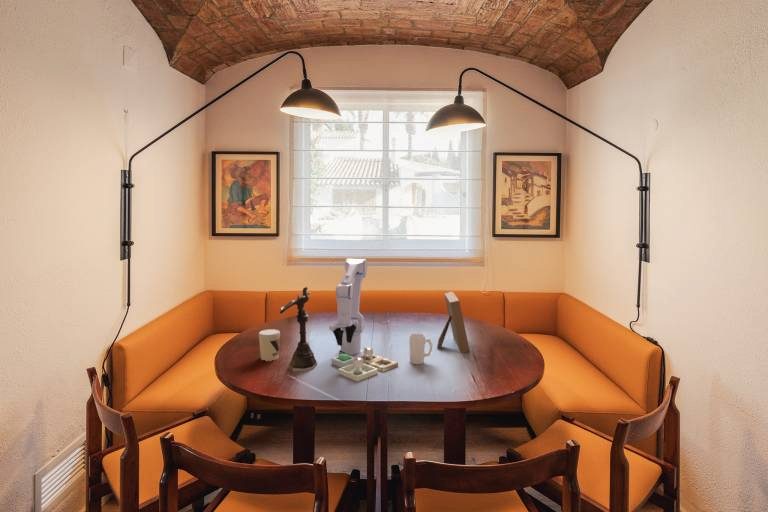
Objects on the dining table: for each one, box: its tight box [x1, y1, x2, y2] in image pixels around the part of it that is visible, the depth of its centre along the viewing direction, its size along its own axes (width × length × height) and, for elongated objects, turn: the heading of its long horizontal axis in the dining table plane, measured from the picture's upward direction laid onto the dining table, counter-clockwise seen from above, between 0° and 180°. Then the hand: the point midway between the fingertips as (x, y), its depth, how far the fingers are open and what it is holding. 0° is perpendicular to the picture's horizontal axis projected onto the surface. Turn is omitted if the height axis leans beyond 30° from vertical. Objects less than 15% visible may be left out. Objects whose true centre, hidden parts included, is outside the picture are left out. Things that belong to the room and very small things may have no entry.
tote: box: [338, 363, 379, 382], centre depth 166 cm, size 11×11×2 cm
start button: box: [338, 353, 350, 361], centre depth 176 cm, size 4×4×3 cm
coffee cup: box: [258, 328, 281, 362], centre depth 183 cm, size 9×9×12 cm
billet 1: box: [353, 356, 363, 375], centre depth 166 cm, size 4×4×6 cm
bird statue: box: [279, 286, 318, 373], centre depth 171 cm, size 17×13×35 cm
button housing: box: [331, 355, 356, 368], centre depth 176 cm, size 8×8×3 cm
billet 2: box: [363, 346, 374, 360], centre depth 180 cm, size 4×4×6 cm
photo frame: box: [436, 291, 470, 354], centre depth 203 cm, size 15×22×25 cm
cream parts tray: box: [354, 353, 399, 373], centre depth 177 cm, size 18×9×2 cm, turn 46°
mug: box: [409, 332, 433, 365], centre depth 180 cm, size 10×7×12 cm, turn 82°
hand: (344, 343), depth 175 cm, fingers open, 5 cm apart
